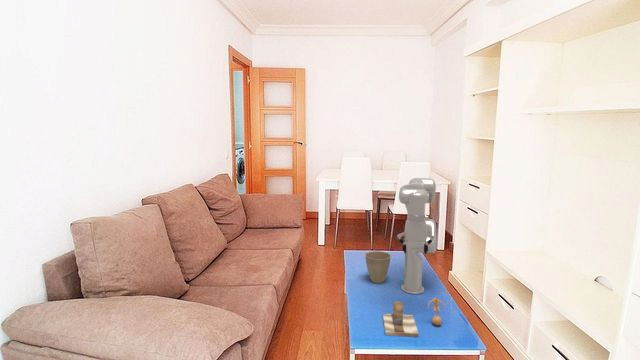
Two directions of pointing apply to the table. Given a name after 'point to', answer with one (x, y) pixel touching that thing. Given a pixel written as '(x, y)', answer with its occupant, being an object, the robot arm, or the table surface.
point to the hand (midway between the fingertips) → (414, 252)
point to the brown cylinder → (398, 313)
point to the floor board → (400, 326)
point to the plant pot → (377, 265)
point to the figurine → (435, 319)
